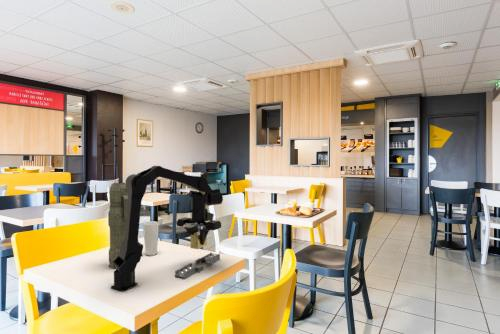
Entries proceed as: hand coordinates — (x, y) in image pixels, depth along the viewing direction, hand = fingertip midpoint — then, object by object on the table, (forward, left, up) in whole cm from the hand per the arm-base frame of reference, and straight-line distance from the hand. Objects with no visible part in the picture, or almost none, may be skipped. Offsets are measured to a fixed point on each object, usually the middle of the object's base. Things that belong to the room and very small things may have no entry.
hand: (198, 244), depth 127 cm
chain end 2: (+7, 0, -10) cm, 12 cm away
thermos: (-12, +32, -10) cm, 36 cm away
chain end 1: (-7, 0, -10) cm, 12 cm away
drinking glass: (+5, +31, -10) cm, 33 cm away
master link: (0, 0, -1) cm, 1 cm away
